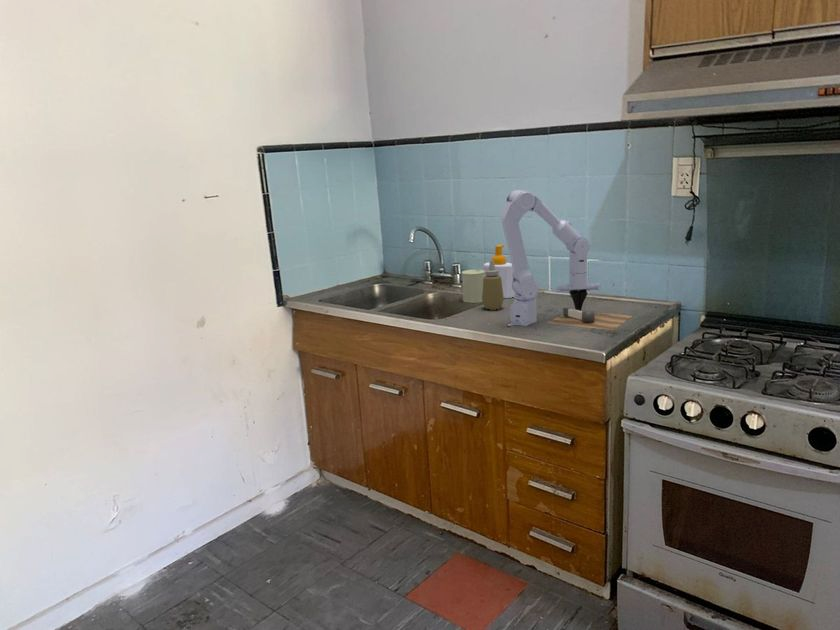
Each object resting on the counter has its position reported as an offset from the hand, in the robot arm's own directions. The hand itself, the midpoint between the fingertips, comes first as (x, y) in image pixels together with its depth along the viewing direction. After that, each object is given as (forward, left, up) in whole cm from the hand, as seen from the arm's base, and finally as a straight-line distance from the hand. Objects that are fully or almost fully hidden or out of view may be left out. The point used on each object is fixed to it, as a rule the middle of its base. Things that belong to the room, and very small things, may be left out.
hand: (578, 311), depth 213 cm
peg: (-5, -2, -1) cm, 5 cm away
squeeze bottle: (+1, +34, -3) cm, 34 cm away
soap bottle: (+21, +41, -3) cm, 46 cm away
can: (+11, +47, -3) cm, 48 cm away
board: (-3, -5, -2) cm, 7 cm away
